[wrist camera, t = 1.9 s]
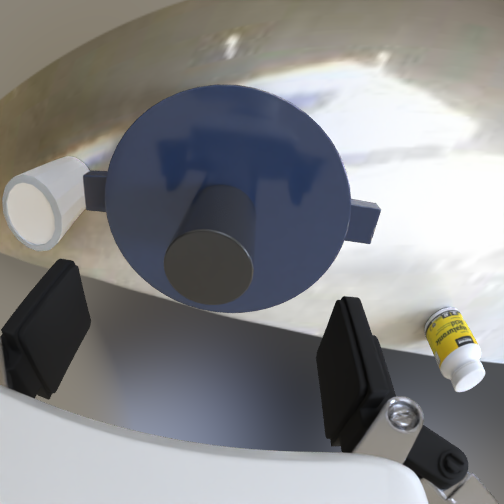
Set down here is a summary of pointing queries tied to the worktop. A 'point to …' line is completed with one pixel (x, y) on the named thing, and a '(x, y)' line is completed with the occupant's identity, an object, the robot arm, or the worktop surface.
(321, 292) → the worktop surface
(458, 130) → the worktop surface
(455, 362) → the supplement bottle
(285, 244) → the pot lid
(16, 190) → the white cup
